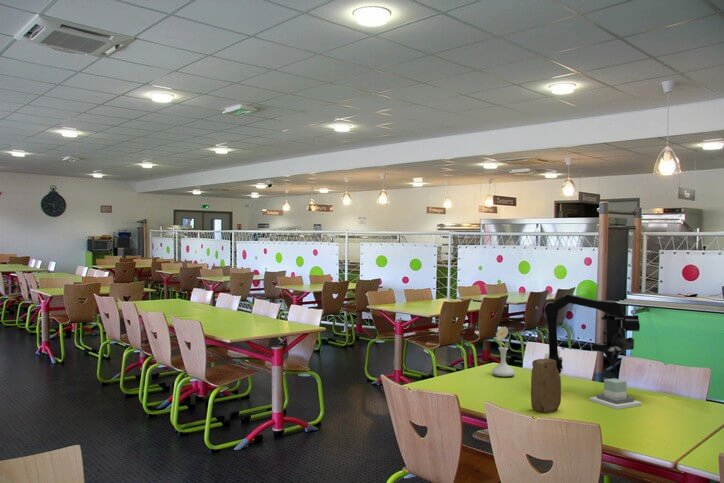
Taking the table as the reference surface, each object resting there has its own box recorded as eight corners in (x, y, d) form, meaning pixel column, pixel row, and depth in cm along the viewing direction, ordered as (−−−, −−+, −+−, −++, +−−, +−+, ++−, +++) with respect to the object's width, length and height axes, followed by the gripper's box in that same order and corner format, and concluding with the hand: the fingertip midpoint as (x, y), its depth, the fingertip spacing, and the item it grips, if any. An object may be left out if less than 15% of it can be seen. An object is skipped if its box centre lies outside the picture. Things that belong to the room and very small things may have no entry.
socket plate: (616, 409, 220) (616, 402, 220) (589, 400, 233) (589, 393, 233) (641, 405, 226) (641, 398, 226) (613, 396, 239) (613, 390, 239)
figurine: (551, 373, 282) (551, 344, 282) (564, 377, 273) (564, 347, 274) (539, 374, 280) (540, 345, 280) (552, 379, 271) (552, 348, 271)
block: (541, 414, 213) (541, 362, 213) (528, 409, 220) (528, 358, 220) (563, 411, 217) (563, 360, 217) (550, 406, 224) (550, 356, 224)
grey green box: (615, 402, 226) (615, 382, 226) (603, 398, 231) (603, 379, 231) (626, 400, 228) (626, 381, 228) (614, 397, 233) (614, 378, 234)
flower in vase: (489, 372, 283) (489, 323, 284) (512, 373, 283) (512, 324, 283) (494, 378, 270) (495, 327, 271) (518, 379, 270) (518, 327, 270)
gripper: (611, 334, 229) (611, 371, 229) (644, 331, 236) (644, 368, 236) (590, 330, 239) (590, 366, 239) (622, 328, 246) (622, 363, 246)
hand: (612, 366), depth 240 cm, fingers closed
